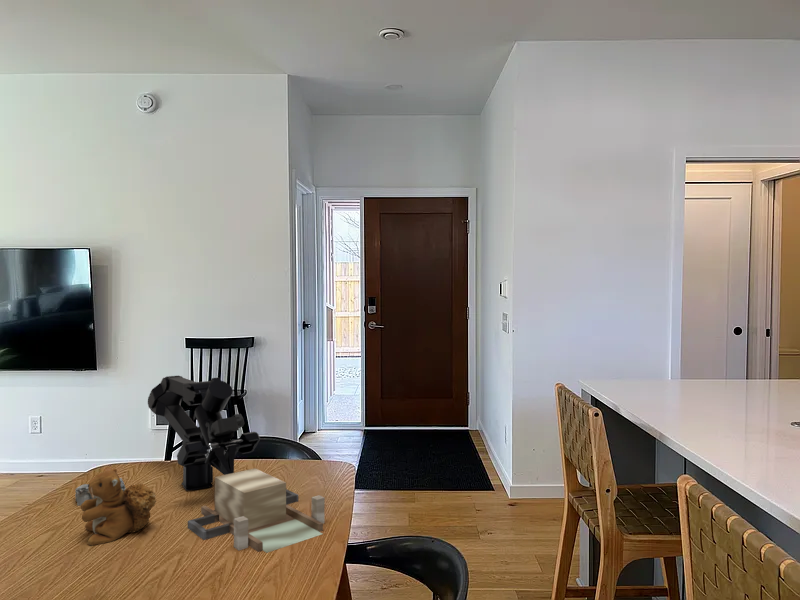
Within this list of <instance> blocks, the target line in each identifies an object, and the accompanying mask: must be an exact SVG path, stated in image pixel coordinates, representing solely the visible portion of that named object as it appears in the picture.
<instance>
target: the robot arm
mask: <svg viewBox="0 0 800 600" xmlns="http://www.w3.org/2000/svg"><path fill="white" fill-rule="evenodd" d="M232 394H233V387H232V386H231V385H230V384H229V383H227V382H226V381H224V380H221V378H220V377H211V379H210V380H206V381H205V380H204V381H194V380H191V379H189V378H188V379H187V378H185V377H183V375H169V376H168V375H167V376H165V377H163V378H162V379H161V381H160V383H158V384H157V385H155V387H153V388H152V389H151V391H150V393H149V395H148V397H147V405H148V409H150V411H151V412H152V413H153V414H154V415H155V416H159V417H163V418H165V419H166V421H167V423H169V424H170V426H171V428H172V429H173V430H174V431H175V433H176V434H177V435H178V436H179V438H180V439H181V441H182V444H181V446H180V449H178V452H177V454H176V458H177V464H178V465H180V466H181V467H183V468H182V469H183V470H182V475H183V477H182V482H181V486H182V485H183V486H182V487H183V488H184V490H185V491H186V492H190V491H196V490H201V489H207V488H212V487H213V482H214V479H213V478H214V468H215V469H216V470H218V472H219V473H220V474H222V475H226V474H231V473H235V457H236V455H237V453H238V454H240V455H245V454H251V453H253V452H254V451H255V450H256V448H257V447H258V445H259V443H260V440H261V437H260V435H259V433H258V432H256V431H251V432H250V431H249V432H245V433H241V435H240V436H239V438H238V439H236V440H232V439H233V438H234V436H235V432H236V431H239V429H241V428H242V427H244V425H245V420H244V417H243V415H242V414H241V413H238V414H237V413H236V414H234V415H232V416H230V417H224V418H223V416H222V413H221V412H222V411H223V410H224V409H225V407H226V405H227V404H228V402H229V400H230V399H231V396H232ZM182 402H184V403H186V405H187V406H190V407H191V406H196V407H195V409H194V414H193V419H192V418H191V417H190V416H189V414H188V413H187V412H186V411H185V409H184V408H183V407H182V406H181V404H182ZM194 421H197V424H198V425H197V424H196V423H195V422H194Z"/></svg>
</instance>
